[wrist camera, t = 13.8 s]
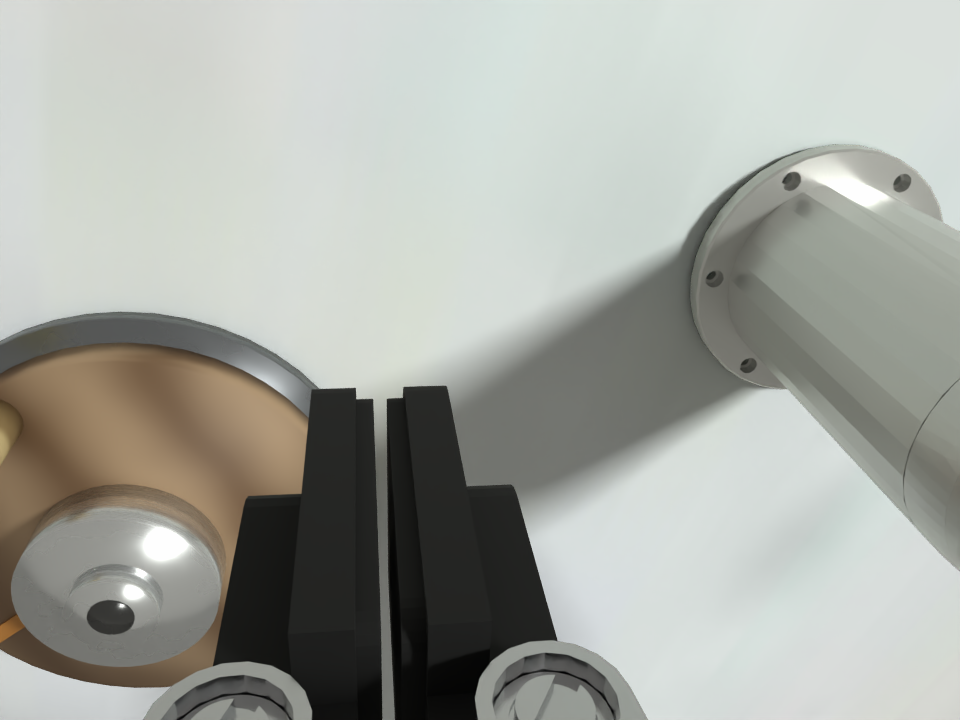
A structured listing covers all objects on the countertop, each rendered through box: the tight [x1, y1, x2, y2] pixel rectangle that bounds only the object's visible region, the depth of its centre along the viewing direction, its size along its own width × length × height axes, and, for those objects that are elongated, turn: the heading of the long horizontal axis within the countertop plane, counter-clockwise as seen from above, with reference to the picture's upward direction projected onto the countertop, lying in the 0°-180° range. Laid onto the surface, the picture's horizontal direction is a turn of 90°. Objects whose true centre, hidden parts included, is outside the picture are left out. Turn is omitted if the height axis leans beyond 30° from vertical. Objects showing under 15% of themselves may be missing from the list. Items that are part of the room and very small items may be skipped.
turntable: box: [0, 342, 309, 688], centre depth 39 cm, size 20×20×5 cm
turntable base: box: [0, 312, 319, 418], centre depth 41 cm, size 22×22×3 cm
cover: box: [11, 484, 226, 667], centre depth 38 cm, size 9×9×4 cm
